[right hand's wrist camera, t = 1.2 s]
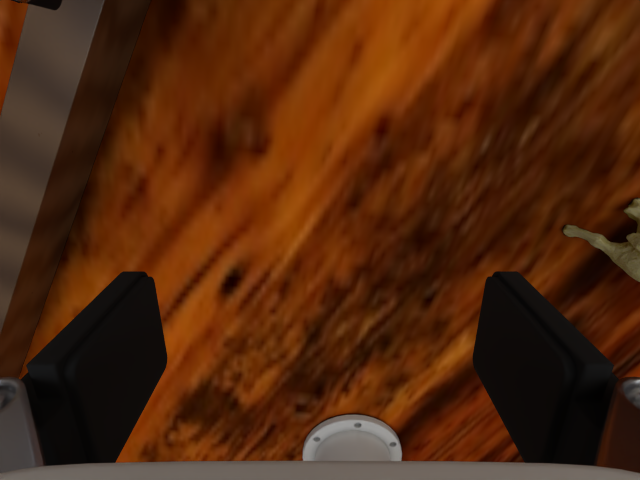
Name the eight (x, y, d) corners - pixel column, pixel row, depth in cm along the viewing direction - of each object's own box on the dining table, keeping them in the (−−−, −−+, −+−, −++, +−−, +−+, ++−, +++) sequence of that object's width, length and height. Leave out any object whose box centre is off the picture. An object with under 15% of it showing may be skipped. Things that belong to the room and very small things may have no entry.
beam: (-9, 454, 52) (-54, 506, 46) (-44, 441, 51) (-96, 493, 45) (186, -102, 30) (151, -150, 24) (130, -139, 30) (78, -198, 23)
